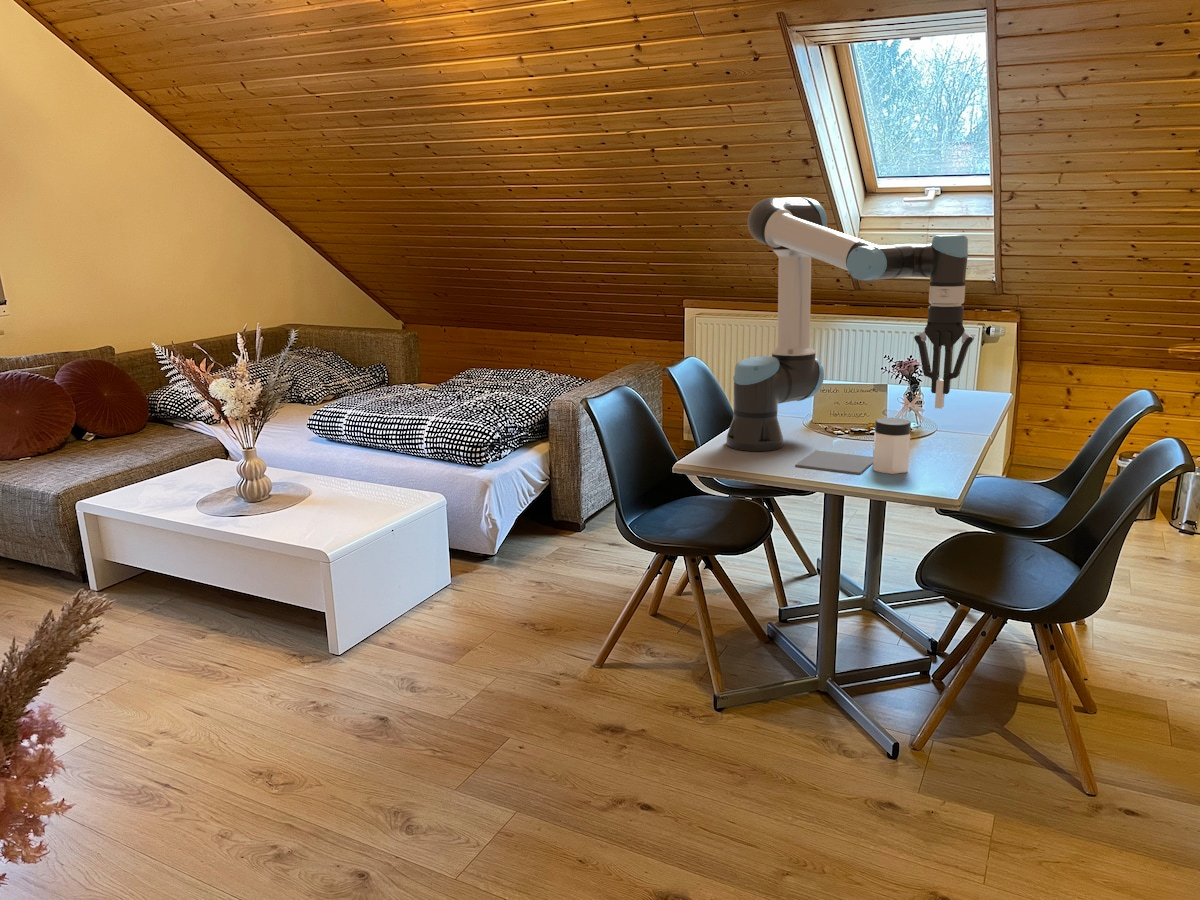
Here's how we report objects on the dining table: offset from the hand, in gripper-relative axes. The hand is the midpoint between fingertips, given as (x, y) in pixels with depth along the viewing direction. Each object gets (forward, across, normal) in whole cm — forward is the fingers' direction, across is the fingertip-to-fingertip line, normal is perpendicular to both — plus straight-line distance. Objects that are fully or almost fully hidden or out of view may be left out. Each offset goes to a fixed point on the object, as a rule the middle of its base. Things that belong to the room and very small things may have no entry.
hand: (939, 407), depth 208 cm
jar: (+16, -10, 0) cm, 19 cm away
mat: (+16, -24, 0) cm, 28 cm away
